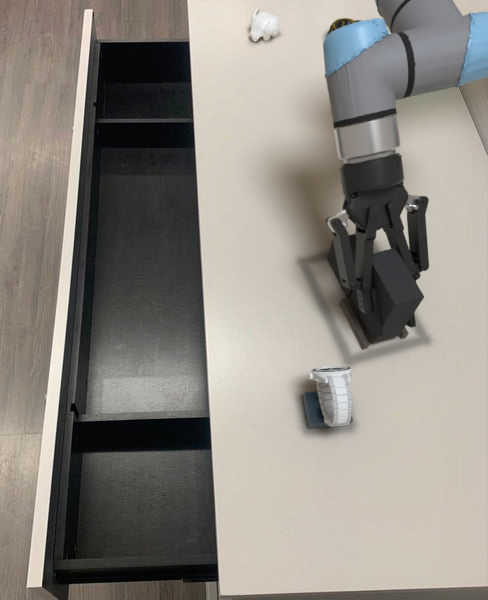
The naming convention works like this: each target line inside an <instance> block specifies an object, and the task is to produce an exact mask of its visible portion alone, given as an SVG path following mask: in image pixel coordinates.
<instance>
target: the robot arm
mask: <svg viewBox="0 0 488 600" xmlns="http://www.w3.org/2000/svg"><path fill="white" fill-rule="evenodd" d="M374 3H375V6H376V10H377V13H378V15H379V16H380V18H379V17H376V18H371V19H363V20H361V21H359V22H355V23H352V24H349V25H346V26H343V27H341V28H338V29H336V30H334V31H332V32H331V33H330V34H329V33H328V34H329V35H328V34H327V35H326V37H325V38H324V40H323V43H322V50H323V62H324V79H325V82H326V87H327V92H328V93H327V94H328V99H329V105H330V106H329V107H330V111H331V117H332V123H333V124H332V125H333V133H334V140H335V141H334V142H335V146H336V147H335V148H336V154H337V159H338V160H340V161H343V163H342V164H341V165H340V167H339V174H340V181H341V188H342V193H343V197H344V199H343V203H342V208H341V209H342V210H340V211H339V212H337V213H336V214H335V215H334V216H327V217H326V218H325V220H324V224H325V226H326V227H327V229H328V231H329V232H330V234H331V237H332V239H333V243H334V248H335V253H336V258H337V264H338V269H339V274H340V279H341V284H342V285H343V286H344V287H347V288H349V289H351V290H357V295H358V301H359V308H360V310H361V311H362V312H364V313H366V315H367V322H368V329H369V331H370V332H372V333H373V334H375V335H377V336H382V335H383V328H382V321H381V314H380V307H379V300H378V292H377V289H375V288H372V287H371V280H372V263H373V253H374V244H375V243H374V242H375V239H376V237H377V232H378V231H379V230H382V231H383V232H384V233H385V235H386V239H387V241H388V244H389V247H390V249H392V248H396V250H397V251H398V253H399V254H400V256H401V258H402V260H403V261H404V263H405V265H406V266H407V268H408V270H409V271H410V273H411V275H412V277H413V278H414V280H415V282H416V283H417V281H418V280H419V279H420V278H421V273H423V272H426V271H428V270H429V268H430V258H429V245H428V244H429V243H428V232H427V231H428V230H427V219H426V216H427V215H426V213H427V210H428V206H429V200H430V199H429V197H428V196H427V195H412V194H409V192H408V190H407V189H406V188H405V185H404V182H405V181H404V180H405V174H404V164H403V157H402V154H400V152H397V150H398V149H399V148H400V147H401V138H400V137H401V136H400V132H399V130H400V129H399V122H398V115H397V114H398V113H397V112H398V111H397V106H396V103H397V102H396V101H398V100H404V99H407V98H412V97H416V96H421V95H424V94H425V95H426V94H430V93H434V92H438V91H442V90H443V91H445V90H449V89H452V88H460V87H461V86H463V85H466V84H470V83H473V82H476V81H480V80H483V79H485V78H488V11H480V12H469V13H468V14H465V15H463V14H462V13H461V11H460V9H459V8H458V6H457V4H456V3H455V2H454V0H374ZM404 209H405V210H406V223H407V224H406V225H407V236H408V241H407V239H406V235H405V233H404V230H405V227H404V224H403V221H402V217H401V215H402V213H403V211H404ZM348 219H349V221H351V222H352V224H353V225H355V228H354V230H355V231H354V234H355V236H356V238H357V241H356V260H355V267H354V262H353V257H352V251H351V246H350V240H349V236H348V235H349V232H348V230H347V229H348V227H349V223H348ZM416 324H417V323H416V316H415V313H414V314H413V315H412V317H411V318H410V320H409V321H408V323H407V324H406V327H408V328H414V327H417V325H416Z"/></svg>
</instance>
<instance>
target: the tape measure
mask: <svg viewBox="0 0 488 600" xmlns="http://www.w3.org/2000/svg"><path fill="white" fill-rule="evenodd" d="M359 21H362V20H360V19H357V20H354V19H352V18H348V17H342V18H338V19H336V20H334V21H333V22H332V24H331V25H330V26H329V30H328V34H327V36H328V35H329V34H330V33H331V32H332V31H334V30H336V29H338V28H341V27H343V26H346V25H349V24H352V23H355V22H359Z"/></svg>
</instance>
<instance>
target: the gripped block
mask: <svg viewBox="0 0 488 600" xmlns="http://www.w3.org/2000/svg"><path fill="white" fill-rule="evenodd" d="M371 287H372V288H375V289H377V292H378V300H379V307H380V314H381V321H382V328H383V335H382V336H377V335H375V334H373V333H372V332H370V331H369V329H368V322H367V315H366V313H364V312H362V311H361V310H360V308H359V301H358V295H357V290H353V292H352V294H351V298H350V299H351V301H352V304H353V305H354V308H355V309H356V311H357V313H358V315H359V317H360V320H361V321H362V324H363V326H364V328H365V329H366V332H367V334H368V335H369V337H370V339H371V341H372V343H373V344H375V343H379V342H381V341H385V340H389V339H393V338H397V337H399V335H400V334H401V332H402V331H403V329H404V328H405V327H407V325H406V324H407V323H408V321H409V320H410V318H411V317H412V315H413V314H414V315H415V312H416V310H417V309H418V308H419V306H420V304H421V303H422V301H423V300H424V298H425V295H424V293H423V292H422V290H421V289H420V287H419V285H418V283H417V281H416V282H415V280H414V278H413V277H412V275H411V273H410V271H409V270H408V268H407V266H406V265H405V263H404V261H403V260H402V258H401V256H400V254H399V253H398V251H397V250H396V248H392V249H391V248H387V249H385V250H381V251H377V252H373V263H372V280H371Z"/></svg>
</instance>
